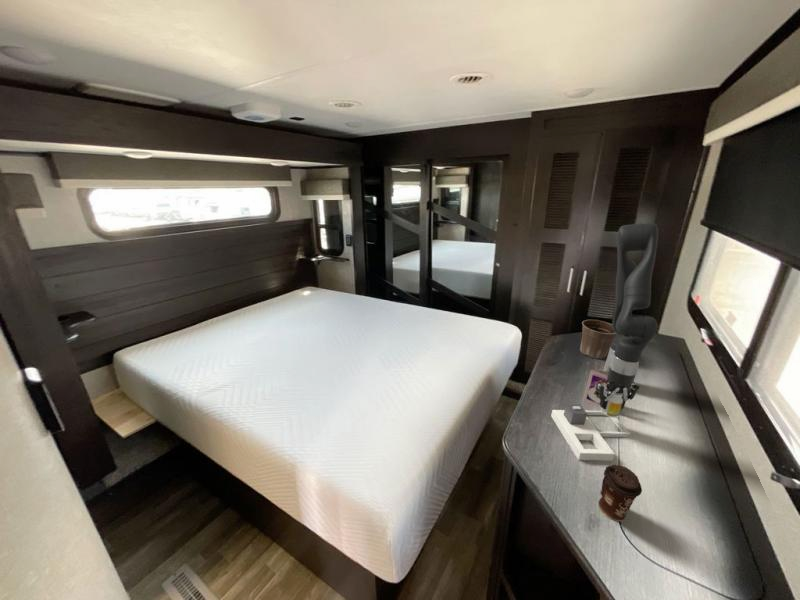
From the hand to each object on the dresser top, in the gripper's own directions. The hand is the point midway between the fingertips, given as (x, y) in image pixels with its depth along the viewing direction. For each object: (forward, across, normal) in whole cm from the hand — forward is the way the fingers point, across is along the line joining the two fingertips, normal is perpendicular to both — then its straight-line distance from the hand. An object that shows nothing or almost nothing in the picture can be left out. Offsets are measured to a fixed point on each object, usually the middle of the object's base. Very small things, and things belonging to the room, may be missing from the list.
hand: (611, 407), depth 110 cm
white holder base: (+8, +13, +6) cm, 16 cm away
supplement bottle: (+3, 0, 0) cm, 3 cm away
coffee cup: (+8, +19, +32) cm, 38 cm away
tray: (+8, +1, 0) cm, 8 cm away
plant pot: (+10, -26, -52) cm, 58 cm away
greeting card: (+9, -5, -12) cm, 16 cm away
